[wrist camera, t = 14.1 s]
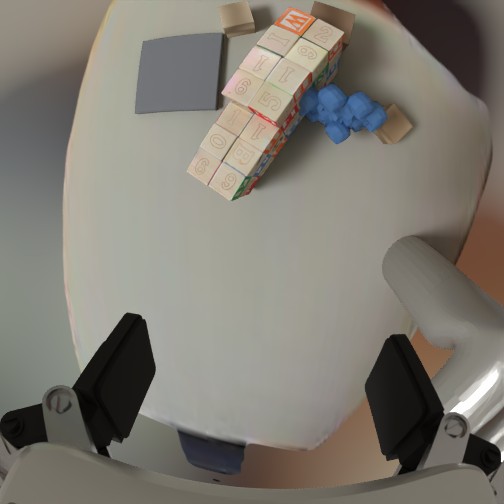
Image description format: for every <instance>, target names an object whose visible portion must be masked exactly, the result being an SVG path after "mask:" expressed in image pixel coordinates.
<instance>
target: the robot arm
mask: <svg viewBox="0 0 504 504" xmlns="http://www.w3.org/2000/svg"><path fill="white" fill-rule="evenodd" d="M382 273H383V276H384V278H385V280H386V282H387V283H388V284H389V286H390V287H391V288H392V290H393V291H394V293H395V294H396V296H397V297H398V298H399V300H400V301H401V303H402V304H403V306H404V307H405V308H406V310H407V311H408V313H409V314H410V316H411V317H412V319H413V320H414V322H415V323H416V325H417V326H418V328H419V330H420V331H421V332H422V334H423V335H424V337H425V338H426V340H427V341H428V342H429V343H431V344H432V345H433V346H435V347H438V348H441V349H448V350H454V352H453V354H452V355H451V357H450V358H449V359H448V360H447V362H446V363H445V365H444V366H443V367H442V368H441V369H440V370H439V371H438V372H437V374H436V375H435V376H434V377H433V378H432V379H431V380H430V378H429V376H428V374H427V373H426V371H425V369H424V367H423V365H422V363H421V361H420V359H419V357H418V356H417V354H416V352H415V350H414V348H413V346H412V345H411V343H410V341H409V339H408V338H407V336H406V335H405V334H393V335H391V336H390V337H389V338H387V339H386V341H385V343H384V345H383V348H382V350H381V352H380V354H379V356H378V359H377V361H376V363H375V365H374V367H373V369H372V371H371V373H370V375H369V377H368V379H367V381H366V383H365V392H366V395H367V398H368V402H369V405H370V409H371V413H372V416H373V420H374V423H375V428H376V431H377V435H378V439H379V443H380V448H381V452H382V454H383V455H386V460H387V461H389V460H394V459H399V462H400V464H399V466H398V468H397V470H396V471H395V473H394V475H393V476H392V477H389V478H384V479H379V480H374V481H369V482H364V483H357V484H351V485H343V486H335V487H323V488H309V489H257V488H242V487H232V486H223V485H216V484H209V483H202V482H197V481H191V480H186V479H181V478H177V477H172V476H168V475H163V474H160V473H156V472H152V471H149V470H146V469H142V468H138V467H135V466H132V465H129V464H126V463H123V462H120V461H117V460H114V458H113V456H112V453H111V451H110V448H109V445H110V443H111V440H113V441H116V442H119V443H122V441H123V439H124V438H127V437H128V436H129V434H130V431H131V429H132V427H133V424H134V422H135V419H136V417H137V414H138V412H139V410H140V407H141V405H142V403H143V400H144V398H145V396H146V393H147V391H148V389H149V387H150V384H151V382H152V380H153V377H154V375H155V371H156V366H155V362H154V358H153V353H152V349H151V344H150V339H149V334H148V329H147V324H146V321H145V319H142V316H141V315H138V314H133V313H126V314H125V315H124V316H123V317H122V319H121V320H120V321H119V323H118V324H117V326H116V327H115V328H114V330H113V331H112V332H111V334H110V335H109V337H108V338H107V339H106V341H104V342H103V343H102V345H101V346H100V347H99V349H98V350H97V352H96V353H95V355H94V356H93V357H92V359H91V360H90V362H89V363H88V365H87V366H86V368H85V369H84V371H83V372H82V374H81V375H80V377H79V378H78V380H77V381H76V383H75V384H74V386H73V387H72V388H70V387H68V386H64V385H59V386H54V387H52V388H50V389H49V390H47V392H46V393H45V394H44V396H43V399H42V403H41V404H38V405H33V406H30V407H26V408H22V409H17V410H14V411H10V412H7V413H6V414H5V415H4V416H3V417H2V419H1V421H0V504H504V306H502V305H501V304H499V303H498V302H497V301H495V300H494V299H492V298H491V297H490V296H489V295H488V294H487V293H485V292H484V291H483V290H482V289H481V288H480V287H478V286H477V285H476V284H475V283H474V282H473V281H472V280H471V279H469V278H468V277H467V276H466V275H465V274H464V273H462V272H461V271H460V270H459V269H458V268H457V267H455V266H454V265H453V264H452V263H451V262H449V261H448V259H446V258H445V257H443V256H442V255H441V254H440V253H438V252H437V251H436V250H435V249H433V248H432V247H431V246H430V245H428V244H427V243H426V242H424V241H423V240H422V239H420V238H418V237H415V236H407V237H403V238H401V239H399V240H397V241H396V242H395V243H394V244H392V246H391V247H390V248H389V249H388V251H387V253H386V254H385V257H384V259H383V264H382Z"/></svg>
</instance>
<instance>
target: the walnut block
mask: <svg viewBox="0 0 504 504" xmlns="http://www.w3.org/2000/svg"><path fill="white" fill-rule="evenodd" d="M310 15H311V16H313V17H315V18H316V19H320V20H322V21H324V22H326V23H328V24H330V25H332V26H334V27H335V28H337V29H339V30H341V31H343V32H344V39H343V44H342V45H343V46H342V52H343V51H344V49H345V48H346V47H347V46H348V45H349V41H350V36H351V32H352V28H353V24H354V19H355V14H352V13H349V12H347V11H344V10H341V9H338V8H335V7H332V6H329V5H326V4H323V3H320V2H316V1H314V4H313V7H312V10H311V14H310ZM342 52H341V53H342Z"/></svg>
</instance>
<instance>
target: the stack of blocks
mask: <svg viewBox="0 0 504 504" xmlns="http://www.w3.org/2000/svg"><path fill="white" fill-rule="evenodd" d="M343 39H344V32H343V31H341V30H339V29H337V28H335V27H334V26H332V25H330V24H328V23H326V22H324V21H322V20H320V19H316V18H315V17H313V16H311V15H309V14H307V13H304V12H302V11H299V10H297V9H294V8H292V7H289V8H288V9H287V10H286V11H285V12H284V13H283V14H282V16H281V17H280V18H279V19H278V20H277V21H276V22H275V23H274V25H272V26H271V27H270V28H269V29H268V30H267V32H266V33H265V34H264V35H263V36H262V38H261V39H260V40H259V42H258V43H257V46H254V47H253V49H252V50H251V51H250V52H249V54H248V55H247V56H246V58H245V59H244V61H243V62H242V63H241V65H240V66H239V69H238V70H237V71H236V72H235V74H234V75H233V76H232V78H231V79H230V81H229V82H228V84H227V85H226V87H225V88H224V90H223V91H222V93H221V94H223V95H224V96H225V97H226V98H227V99H228V100H229V101H230V102H229V103H228V105H227V106H226V108H225V109H224V111H223V112H222V114H221V115H220V117H219V118H218V120H217V121H216V123H215V124H214V125H213V126H212V128H211V129H210V131H209V132H208V134H207V135H206V137H205V139H204V140H203V142H202V144H201V145H200V149H199V150H198V152H197V153H196V155H195V157H194V158H193V160H192V162H191V164H190V165H189V167H188V169H187V172H188V173H190V174H191V175H193V176H194V177H196V178H197V179H199V180H200V181H201V182H203V183H204V184H206V185H208V186H210V187H211V188H212V189H214V190H215V191H217V192H218V193H220V194H221V195H222V196H224V197H225V198H227V199H228V200H230V201H232V200H235V199H238V198H239V197H242V196H244V195H247V194H249V193H250V192H251V190H252V189H253V187H254V186H255V184H256V183H257V181H258V180H259V178H260V177H261V176H262V175H263V174H264V172H265V171H266V169H267V168H268V167H269V165H270V164H271V162H272V161H273V159H274V158H275V157H276V155H277V154H278V153H279V151H280V150H281V148H282V147H283V146H284V144H285V143H286V141H287V139H288V138H289V136H290V135H291V133H292V132H293V131H294V129H295V128H296V127H297V125H298V124H299V122H300V121H301V119H302V118H303V117H304V116H300V115H299V110H300V108H301V107H300V106H299V101H300V99H301V97H302V95H303V93H304V92H305V91H306V90H307V89H308V88H309V87H311V86H313V87H314V88H316V89H317V90H318V91H319V90H320V89H321V88H323V87H325V86H327V85H329V84H330V82H331V81H332V80H333V78H334V77H335V76H336V75H337V70H338V64H339V59H340V56H341V52H342V46H343V45H342V44H343Z"/></svg>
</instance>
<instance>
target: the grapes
mask: <svg viewBox="0 0 504 504" xmlns="http://www.w3.org/2000/svg"><path fill="white" fill-rule="evenodd" d="M299 106H300V107H301V108H300V110H299V115H300V116H304V115H305V116H306V117H307V118H308V119H309V120H310V121H311V122H312V123H313V122H316V121H318V120H319V121H320V122H322V123H323V124H324V125H325V130H326V134H327V135H328V136H329V137H330V139H331V140H332V141H333V142H334V143H335V144H338V143H341V142H343V141H344V140H346V139H347V138H348V137H349V136H350V129H352V130H353V131H354V132H357V131H359V130H361V129H363V128H364V127H366V128H367V129H368V130H369V131H370V132H373V131H375V130H377V129H379V128H380V127H381V126H382V125H383V123H384V122H385V121H386V120H387V113H386V112H385V110H384V108H383V107H382V106H381V105H380V104H379V103H378V102H376V101H375V102H372V101H371V100H370V98H369V97H368V96H367V95H366V94H365V93H363V92H362V91H359V92H356V93H354V94H353V95H351V96H349V97H348V96H347V95H345V94H344V92H343V91H342V90H341V89H340V88H339V87H338V86H336V85H335V84H334V83H333V84H330V85H327V86H325V87H323V88H321V89H320V90H319V91H318V90H317V89H316V88H314V87H313V86H311V87H309V88H308V89H307V90H306V91H305V92H304V93H303V95H302V97H301V99H300V101H299Z"/></svg>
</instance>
